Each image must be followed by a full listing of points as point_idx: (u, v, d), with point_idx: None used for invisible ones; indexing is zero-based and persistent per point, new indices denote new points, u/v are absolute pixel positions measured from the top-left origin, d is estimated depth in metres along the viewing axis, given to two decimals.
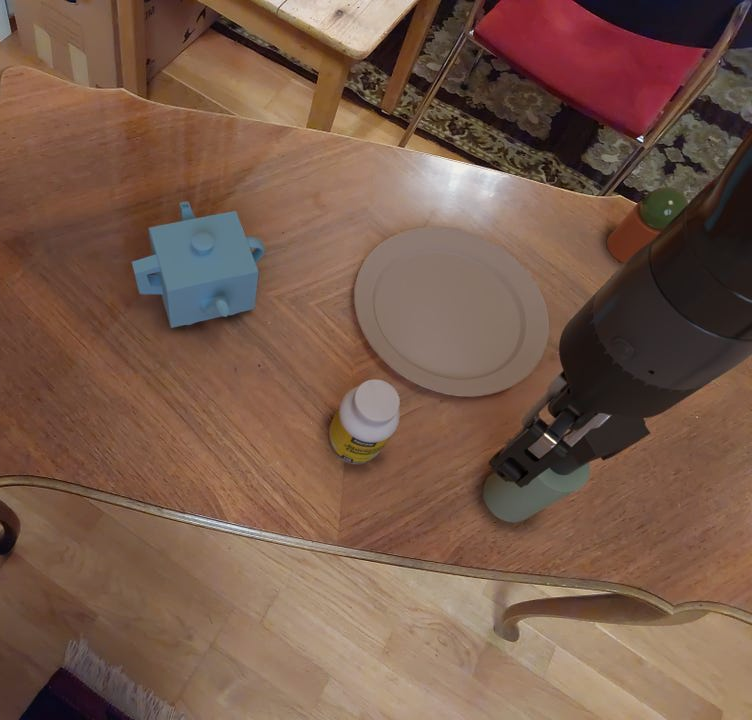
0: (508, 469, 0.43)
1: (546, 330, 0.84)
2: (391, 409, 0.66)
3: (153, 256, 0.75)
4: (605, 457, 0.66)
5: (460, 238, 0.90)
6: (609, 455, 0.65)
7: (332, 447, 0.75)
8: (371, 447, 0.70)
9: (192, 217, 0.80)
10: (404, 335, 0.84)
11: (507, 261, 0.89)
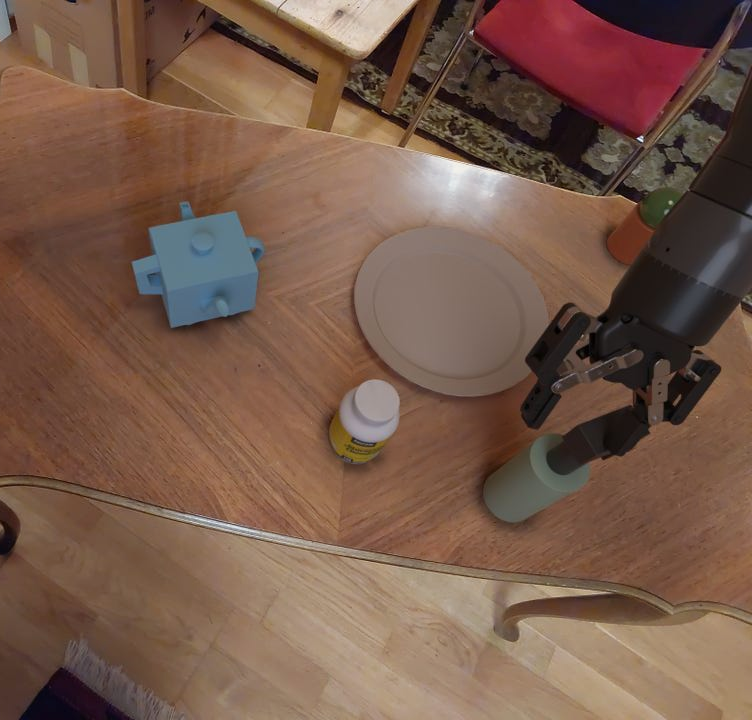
0: (535, 359, 0.51)
1: None
2: (392, 409, 0.66)
3: (153, 256, 0.75)
4: (605, 457, 0.66)
5: (460, 238, 0.90)
6: (609, 455, 0.65)
7: (332, 447, 0.75)
8: (371, 447, 0.70)
9: (192, 217, 0.80)
10: (404, 335, 0.84)
11: (507, 261, 0.89)
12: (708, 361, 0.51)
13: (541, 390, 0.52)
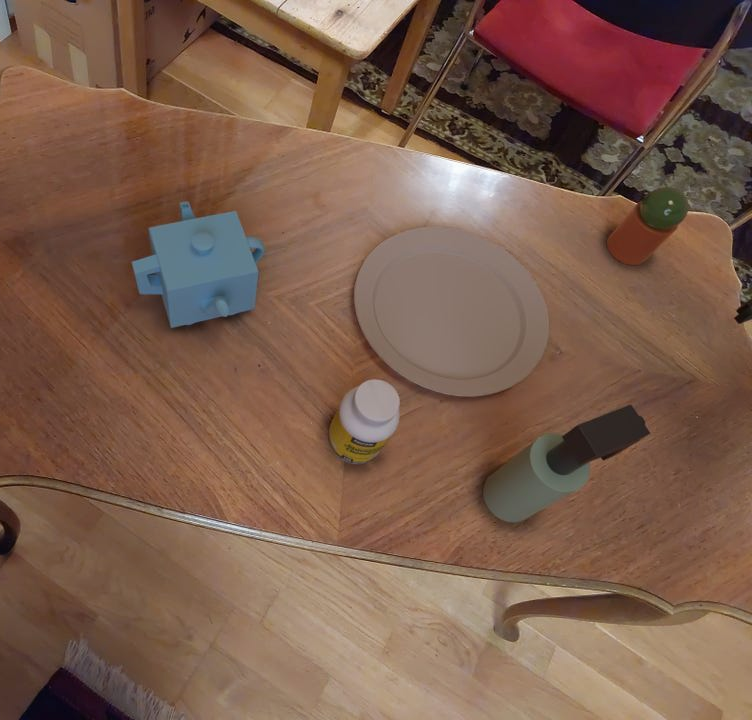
0: None
1: (546, 330, 0.84)
2: (391, 409, 0.66)
3: (153, 256, 0.75)
4: (605, 457, 0.66)
5: (460, 238, 0.90)
6: (609, 455, 0.65)
7: (332, 447, 0.75)
8: (371, 447, 0.70)
9: (192, 217, 0.80)
10: (404, 335, 0.84)
11: (507, 261, 0.89)
12: None
13: None
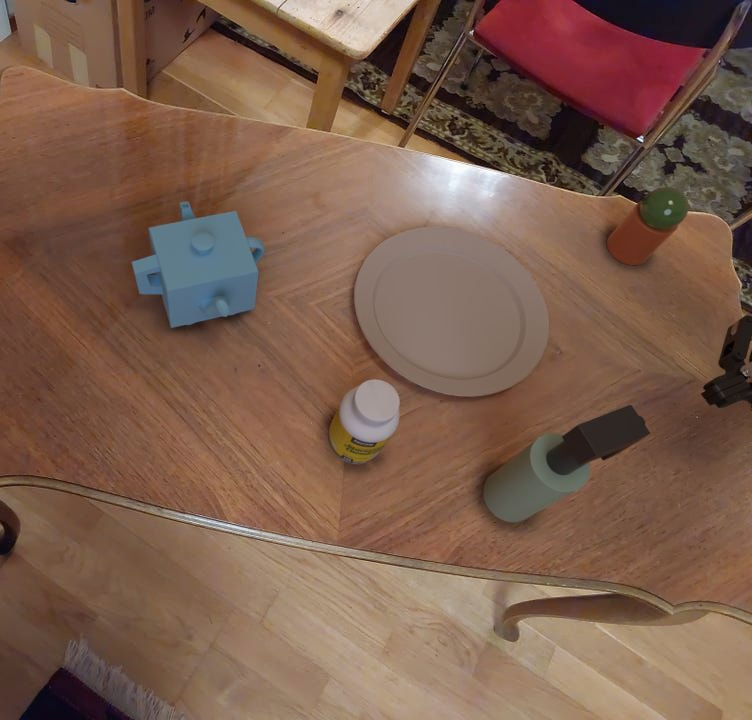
0: (727, 355, 0.67)
1: (546, 330, 0.84)
2: (391, 409, 0.66)
3: (153, 256, 0.75)
4: (605, 457, 0.66)
5: (460, 238, 0.90)
6: (609, 455, 0.65)
7: (332, 447, 0.75)
8: (371, 447, 0.70)
9: (192, 217, 0.80)
10: (404, 335, 0.84)
11: (507, 261, 0.89)
12: None
13: (729, 372, 0.66)
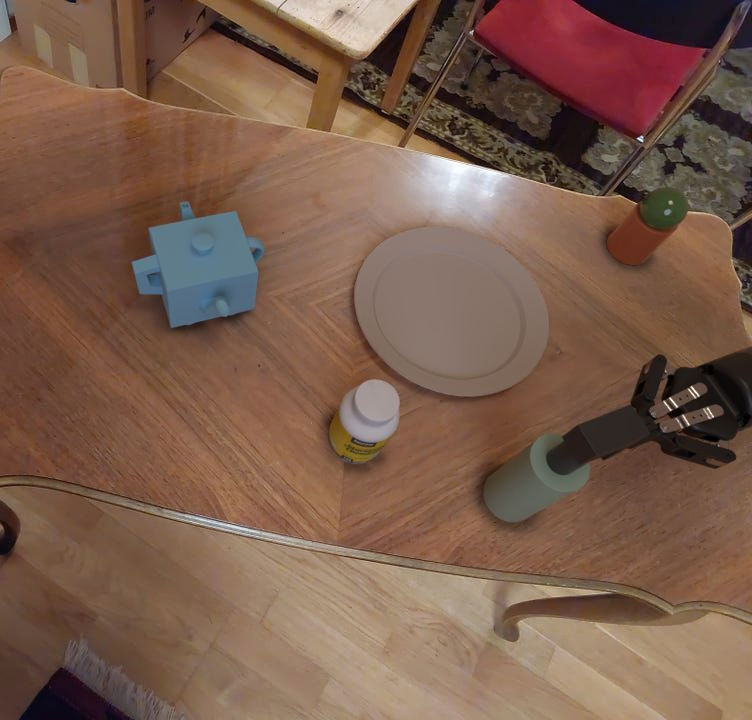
0: (638, 395, 0.67)
1: (546, 330, 0.84)
2: (391, 409, 0.66)
3: (153, 256, 0.75)
4: (605, 457, 0.66)
5: (460, 238, 0.90)
6: (609, 455, 0.65)
7: (332, 447, 0.75)
8: (371, 447, 0.70)
9: (192, 217, 0.80)
10: (404, 335, 0.84)
11: (507, 261, 0.89)
12: None
13: (639, 412, 0.66)
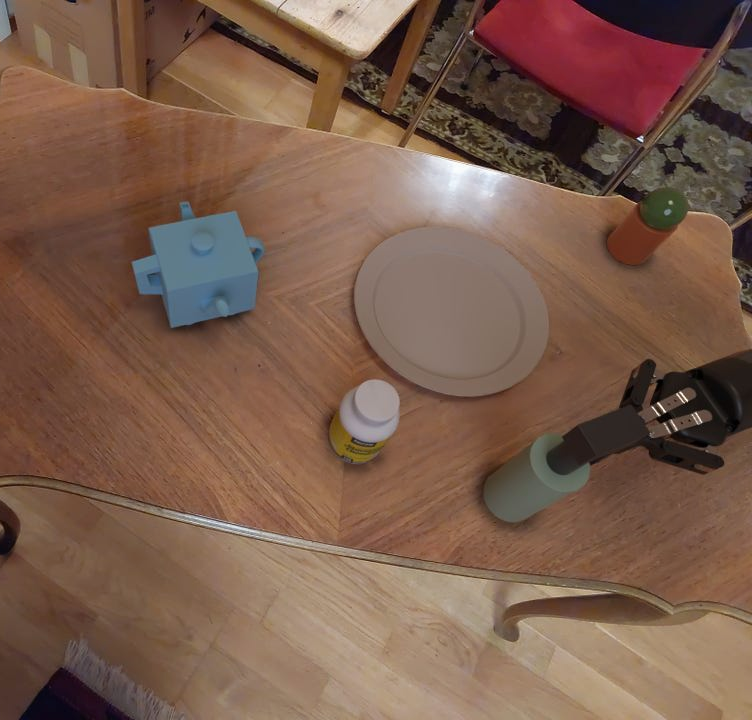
0: (626, 399, 0.67)
1: (546, 330, 0.84)
2: (391, 409, 0.66)
3: (153, 256, 0.75)
4: (593, 462, 0.65)
5: (460, 238, 0.90)
6: (596, 460, 0.65)
7: (332, 447, 0.75)
8: (371, 447, 0.70)
9: (192, 217, 0.80)
10: (404, 335, 0.84)
11: (507, 261, 0.89)
12: None
13: None
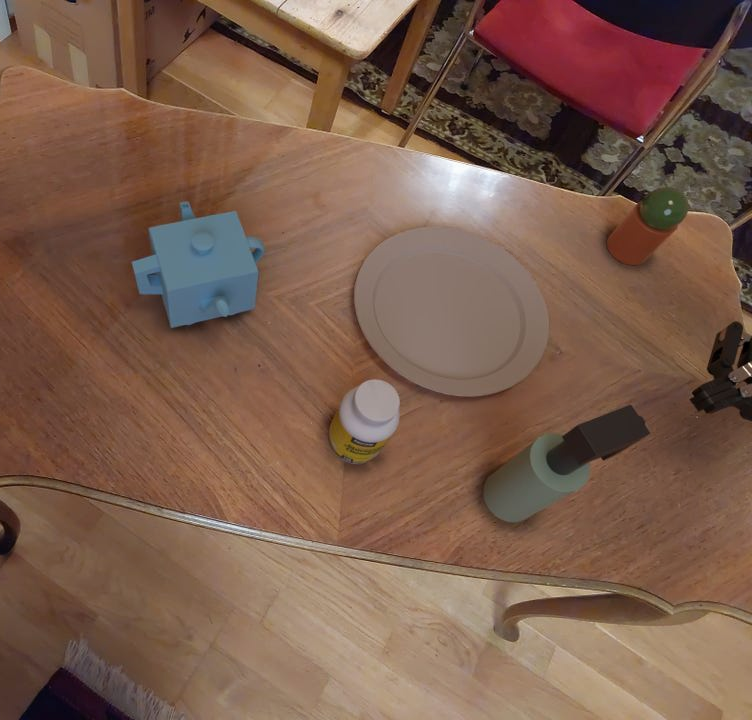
0: (715, 361, 0.68)
1: (546, 330, 0.84)
2: (392, 409, 0.66)
3: (153, 256, 0.75)
4: (605, 457, 0.66)
5: (460, 238, 0.90)
6: (609, 455, 0.65)
7: (332, 447, 0.75)
8: (371, 447, 0.70)
9: (192, 217, 0.80)
10: (404, 335, 0.84)
11: (507, 261, 0.89)
12: None
13: (718, 378, 0.66)
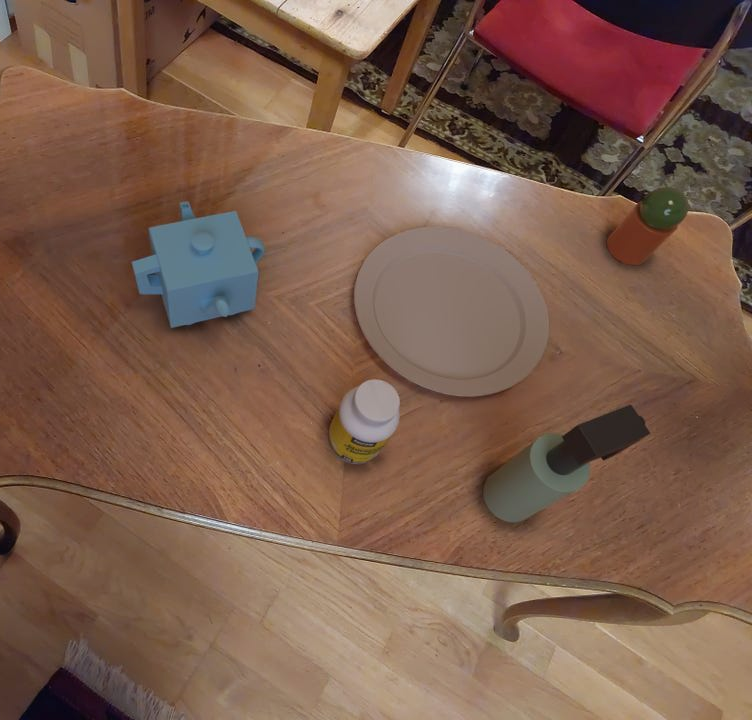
0: None
1: (546, 330, 0.84)
2: (392, 409, 0.66)
3: (153, 256, 0.75)
4: (605, 457, 0.66)
5: (460, 238, 0.90)
6: (609, 455, 0.65)
7: (332, 447, 0.75)
8: (371, 447, 0.70)
9: (192, 217, 0.80)
10: (404, 335, 0.84)
11: (507, 261, 0.89)
12: None
13: None
